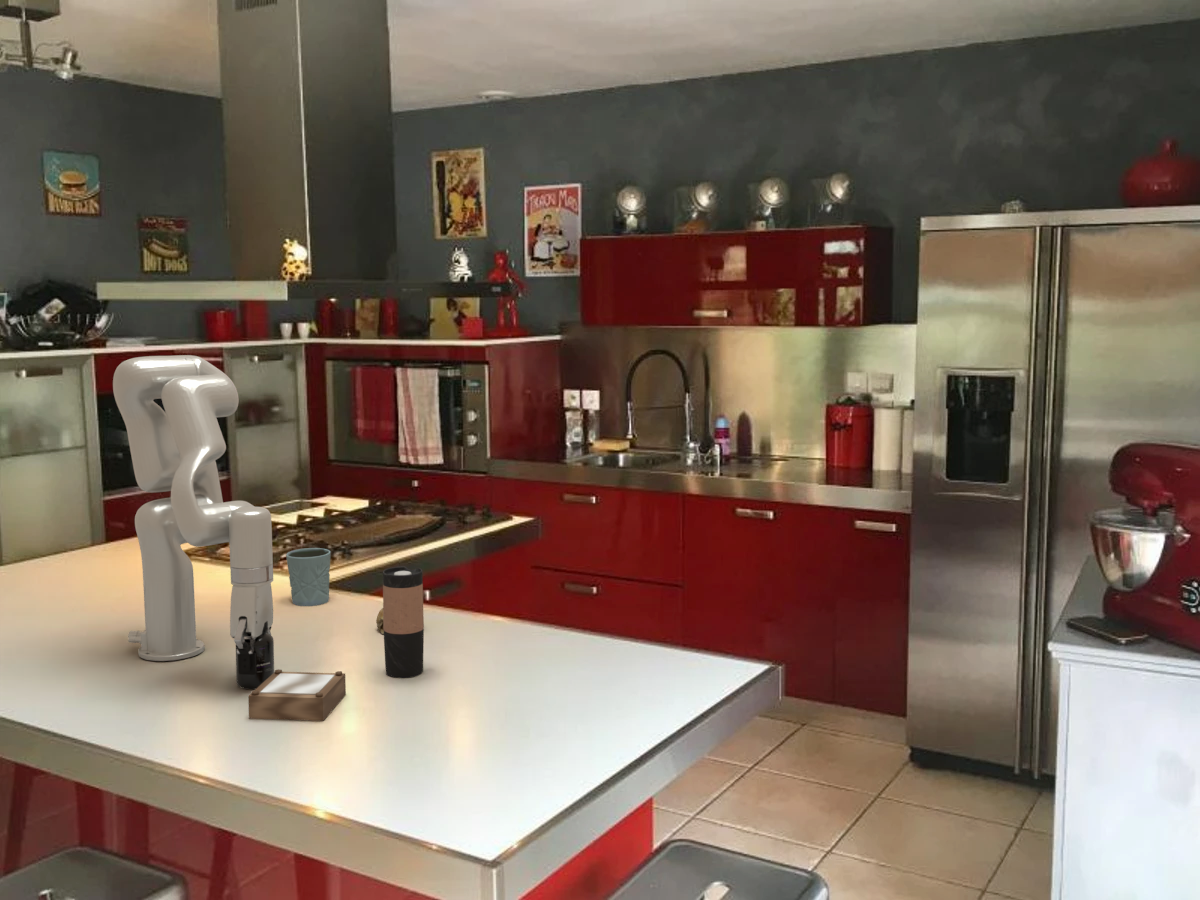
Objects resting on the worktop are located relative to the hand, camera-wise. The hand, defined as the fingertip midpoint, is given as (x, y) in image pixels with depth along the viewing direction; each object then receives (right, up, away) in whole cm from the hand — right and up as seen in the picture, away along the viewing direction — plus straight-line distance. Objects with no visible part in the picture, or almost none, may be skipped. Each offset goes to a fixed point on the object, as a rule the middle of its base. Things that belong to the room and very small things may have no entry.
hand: (255, 666), depth 212 cm
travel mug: (+27, -3, +8) cm, 28 cm away
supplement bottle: (0, -3, 0) cm, 4 cm away
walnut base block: (+11, -5, -11) cm, 17 cm away
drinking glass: (-5, +4, +59) cm, 59 cm away
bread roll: (+21, +1, +36) cm, 42 cm away
